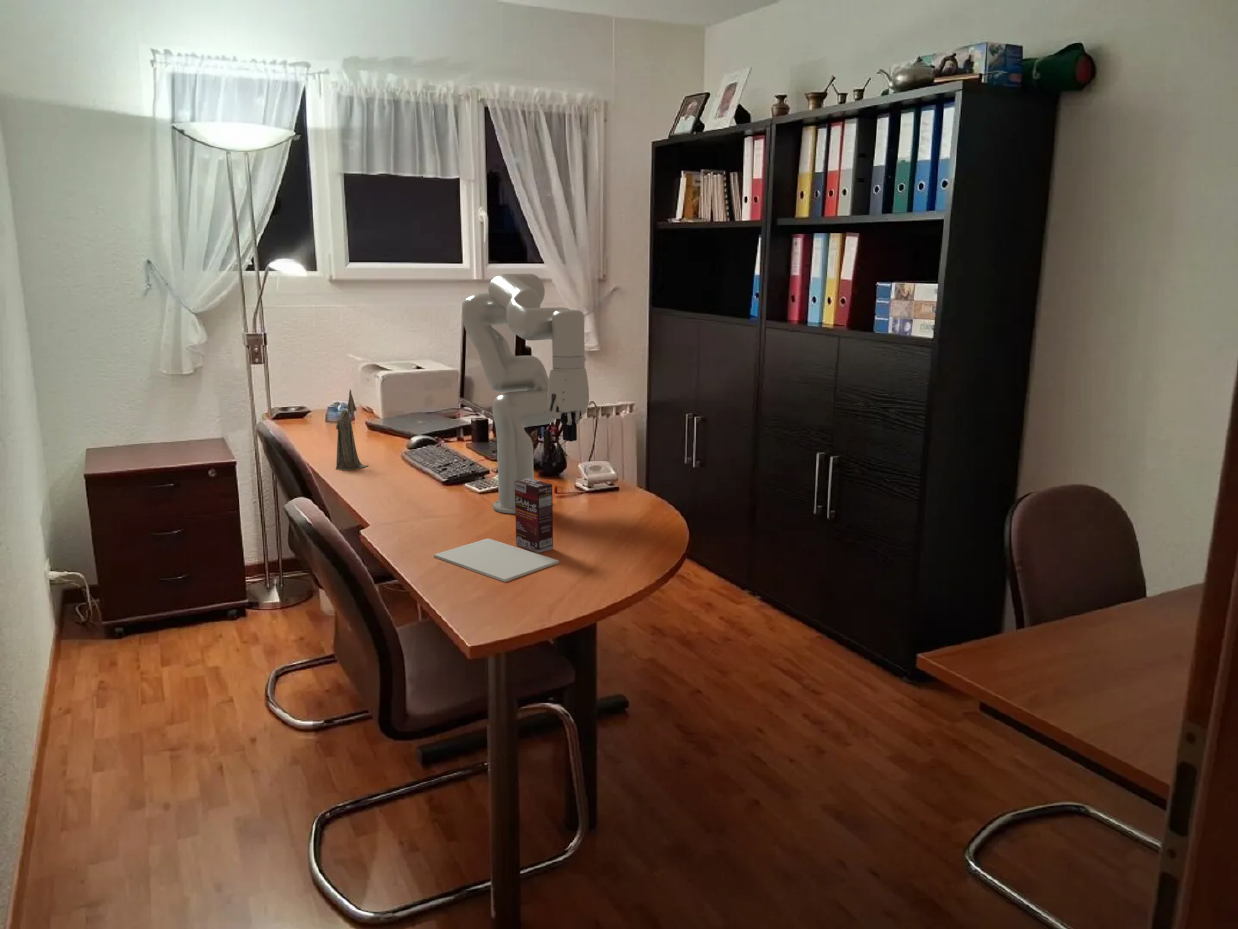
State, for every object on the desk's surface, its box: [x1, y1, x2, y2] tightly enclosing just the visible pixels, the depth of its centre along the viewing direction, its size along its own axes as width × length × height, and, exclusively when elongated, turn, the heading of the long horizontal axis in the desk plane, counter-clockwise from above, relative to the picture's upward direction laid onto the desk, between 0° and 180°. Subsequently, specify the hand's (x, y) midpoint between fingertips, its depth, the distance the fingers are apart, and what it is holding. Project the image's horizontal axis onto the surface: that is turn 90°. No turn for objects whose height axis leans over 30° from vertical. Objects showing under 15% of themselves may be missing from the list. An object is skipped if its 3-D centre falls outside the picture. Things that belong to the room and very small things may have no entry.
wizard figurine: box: [335, 389, 369, 471], centre depth 286 cm, size 10×8×25 cm
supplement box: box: [515, 478, 554, 554], centre depth 209 cm, size 9×5×16 cm, turn 45°
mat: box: [433, 537, 560, 583], centre depth 202 cm, size 16×24×1 cm, turn 49°
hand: (569, 440), depth 214 cm, fingers closed
